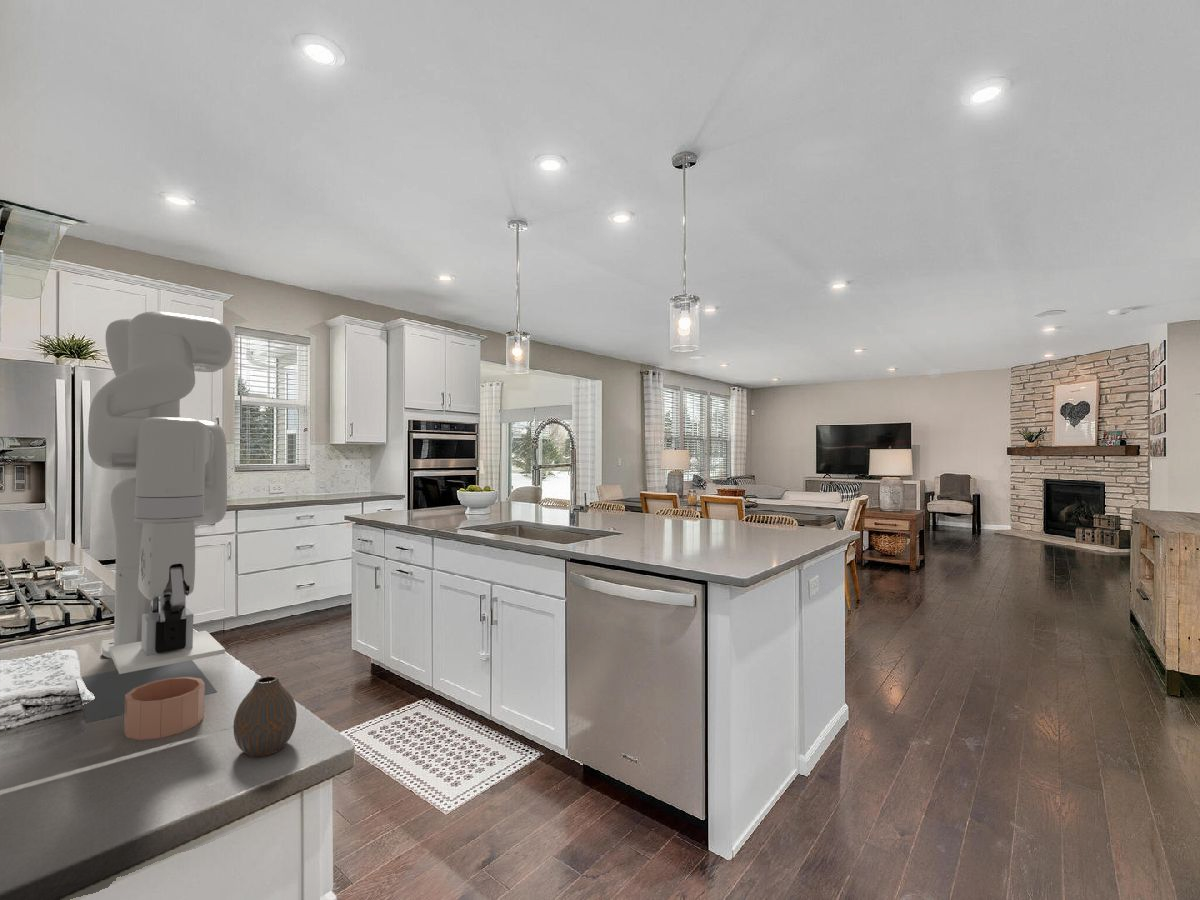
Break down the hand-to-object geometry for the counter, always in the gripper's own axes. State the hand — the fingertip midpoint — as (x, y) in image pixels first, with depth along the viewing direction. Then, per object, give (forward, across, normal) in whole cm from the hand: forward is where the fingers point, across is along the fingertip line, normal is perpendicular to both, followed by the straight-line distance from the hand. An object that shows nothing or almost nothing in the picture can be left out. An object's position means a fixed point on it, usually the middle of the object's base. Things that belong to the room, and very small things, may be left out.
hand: (167, 644), depth 78 cm
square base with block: (+1, 0, 0) cm, 1 cm away
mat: (+11, -17, 0) cm, 21 cm away
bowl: (+11, 0, 0) cm, 11 cm away
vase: (+11, +15, +8) cm, 20 cm away
